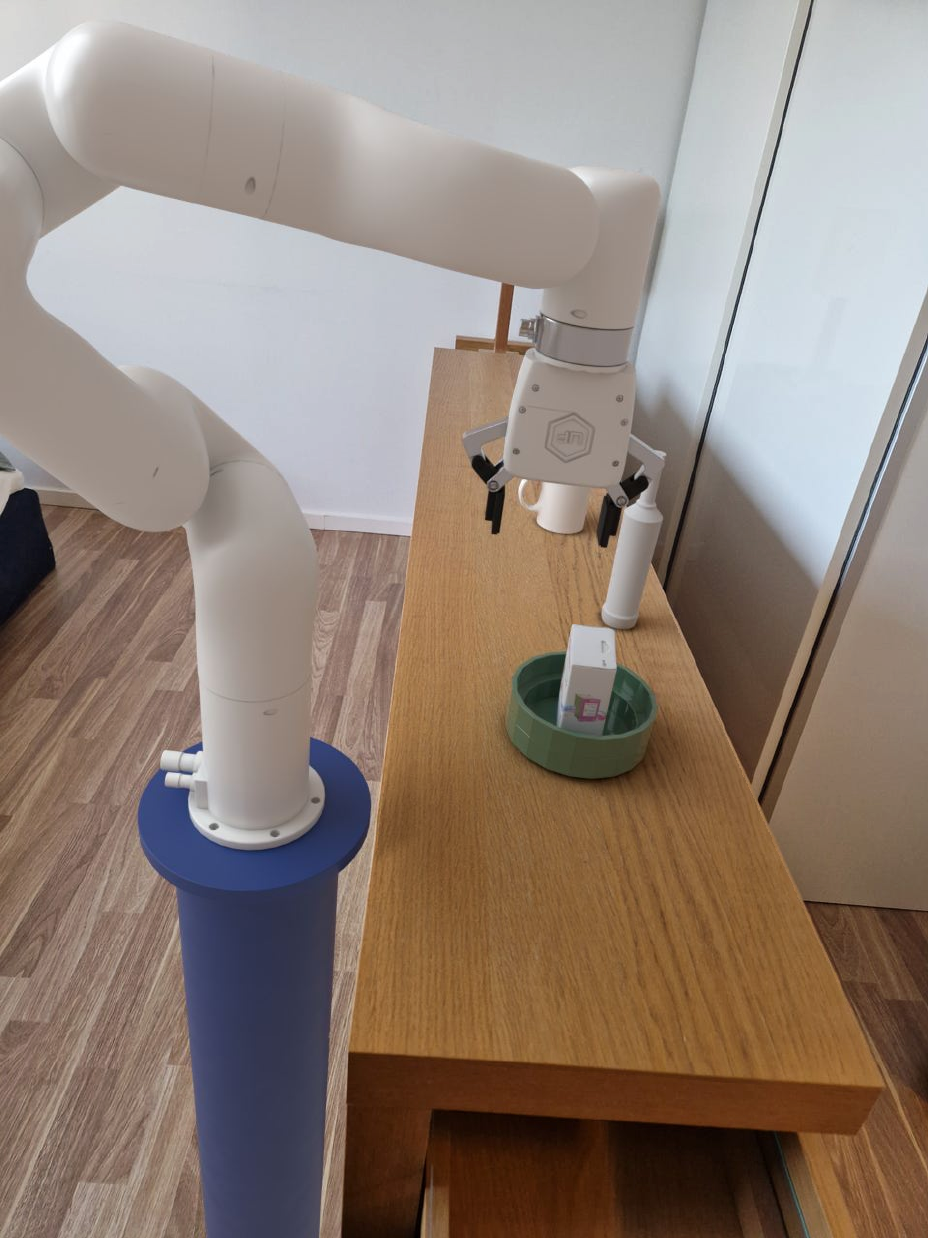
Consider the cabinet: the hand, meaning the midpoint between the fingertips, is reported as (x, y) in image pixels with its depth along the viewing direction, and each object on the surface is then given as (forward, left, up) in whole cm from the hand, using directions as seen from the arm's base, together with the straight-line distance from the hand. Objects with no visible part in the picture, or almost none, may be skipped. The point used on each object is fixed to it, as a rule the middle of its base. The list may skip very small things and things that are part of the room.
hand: (548, 534), depth 78 cm
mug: (+7, +65, -28) cm, 72 cm away
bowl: (+8, +8, -28) cm, 30 cm away
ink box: (+8, +8, -28) cm, 30 cm away
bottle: (+16, +35, -28) cm, 48 cm away
